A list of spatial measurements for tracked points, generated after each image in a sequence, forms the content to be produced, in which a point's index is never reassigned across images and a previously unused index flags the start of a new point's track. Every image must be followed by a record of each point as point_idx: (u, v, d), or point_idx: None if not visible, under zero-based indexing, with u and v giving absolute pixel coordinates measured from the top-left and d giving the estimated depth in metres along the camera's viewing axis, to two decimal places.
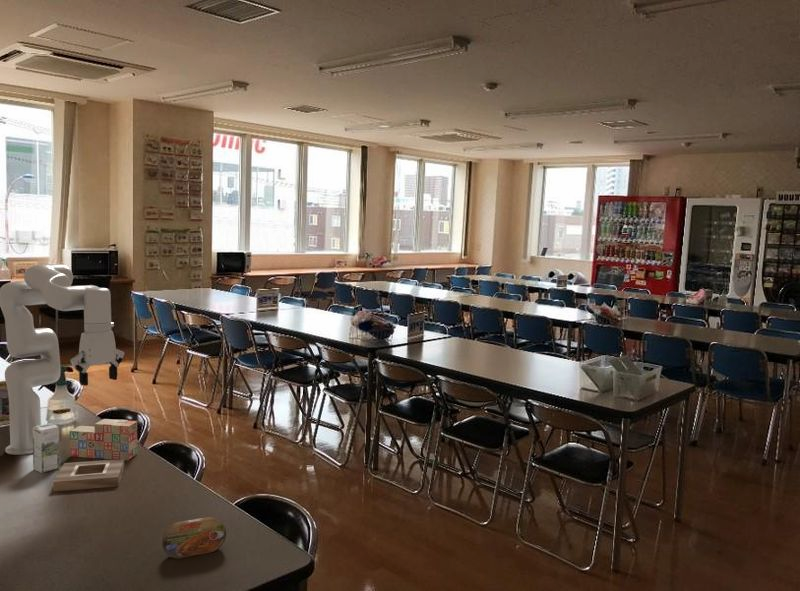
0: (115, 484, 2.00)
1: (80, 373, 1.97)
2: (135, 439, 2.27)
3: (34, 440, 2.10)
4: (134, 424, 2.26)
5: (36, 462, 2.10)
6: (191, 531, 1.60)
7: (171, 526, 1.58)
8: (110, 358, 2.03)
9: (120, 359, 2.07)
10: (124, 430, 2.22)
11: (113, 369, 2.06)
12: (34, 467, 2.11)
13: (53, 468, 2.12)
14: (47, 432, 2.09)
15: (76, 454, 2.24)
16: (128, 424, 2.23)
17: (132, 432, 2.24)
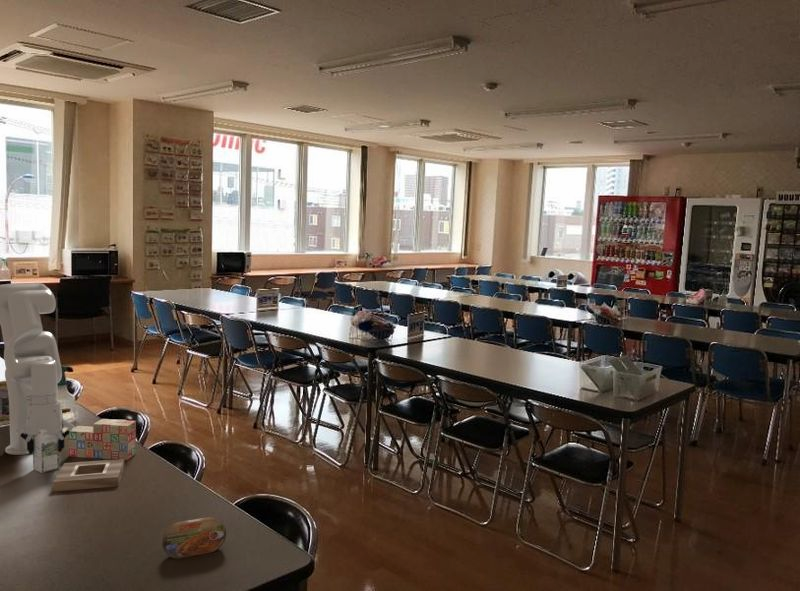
0: (115, 484, 2.00)
1: (63, 439, 2.13)
2: (134, 439, 2.27)
3: (34, 440, 2.10)
4: (133, 424, 2.26)
5: (36, 462, 2.10)
6: (191, 531, 1.60)
7: (171, 526, 1.58)
8: None
9: None
10: (122, 430, 2.22)
11: None
12: (34, 467, 2.11)
13: (53, 468, 2.12)
14: None
15: (74, 454, 2.24)
16: (127, 424, 2.23)
17: (131, 432, 2.25)
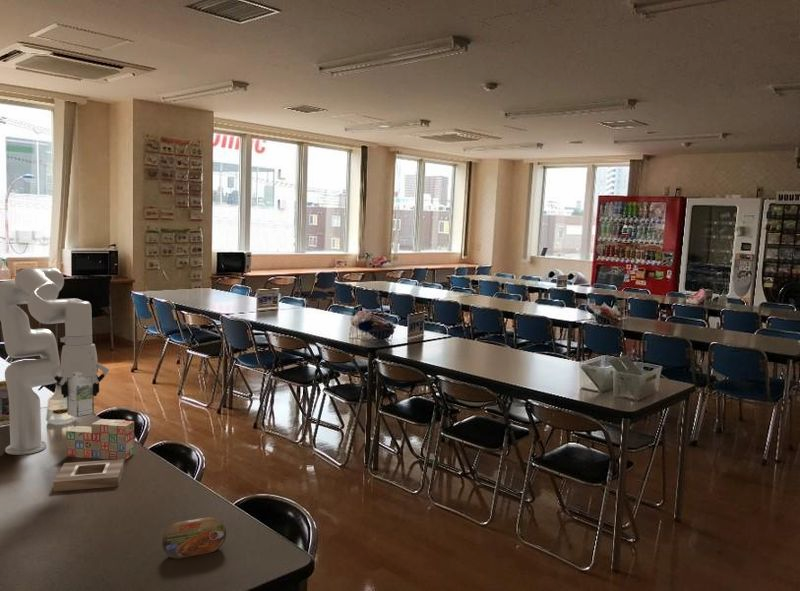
0: (115, 484, 2.00)
1: (98, 383, 2.05)
2: (132, 439, 2.27)
3: (68, 383, 2.02)
4: (131, 424, 2.25)
5: (70, 406, 2.02)
6: (191, 531, 1.60)
7: (171, 526, 1.58)
8: None
9: None
10: (121, 430, 2.22)
11: None
12: (68, 412, 2.03)
13: (88, 413, 2.03)
14: None
15: (73, 454, 2.24)
16: (125, 424, 2.23)
17: (129, 432, 2.24)
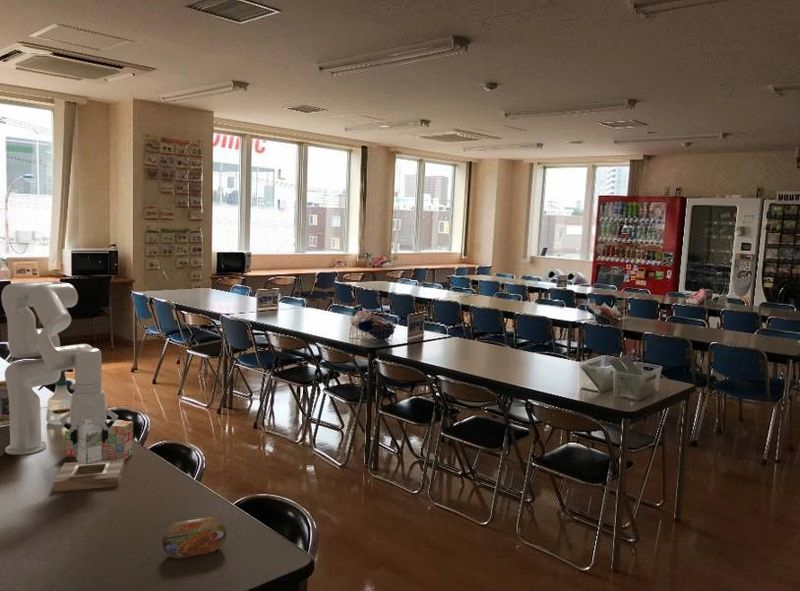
0: (115, 484, 2.00)
1: (107, 429, 2.05)
2: (131, 439, 2.26)
3: (78, 430, 2.02)
4: (130, 424, 2.25)
5: (79, 453, 2.03)
6: (191, 531, 1.60)
7: (171, 526, 1.58)
8: None
9: None
10: (119, 430, 2.21)
11: None
12: (77, 458, 2.04)
13: (97, 459, 2.04)
14: (91, 422, 2.01)
15: (72, 454, 2.24)
16: (124, 424, 2.23)
17: (128, 432, 2.24)
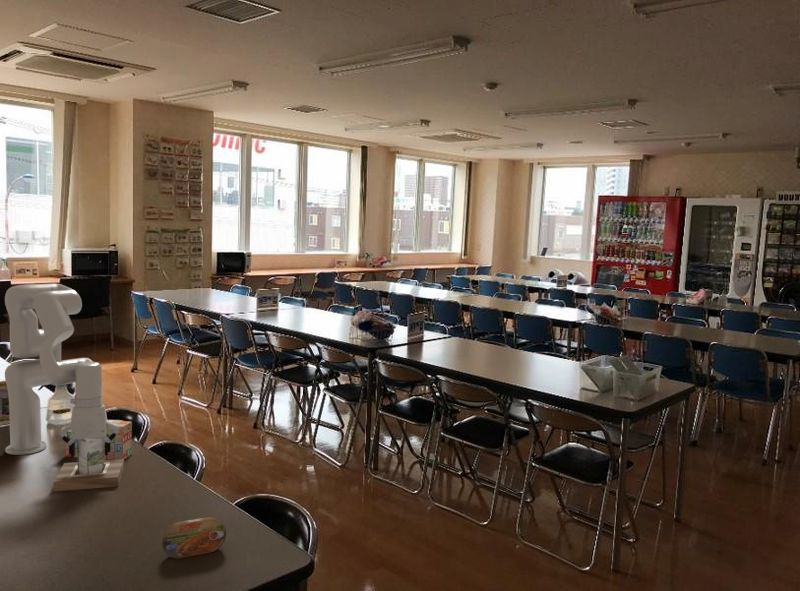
0: (115, 484, 2.00)
1: (110, 442, 2.06)
2: (130, 440, 2.26)
3: (79, 449, 2.03)
4: (128, 424, 2.25)
5: (81, 471, 2.03)
6: (191, 531, 1.60)
7: (171, 526, 1.58)
8: None
9: None
10: None
11: (74, 444, 2.04)
12: None
13: None
14: (92, 441, 2.02)
15: None
16: (122, 424, 2.23)
17: (126, 432, 2.24)
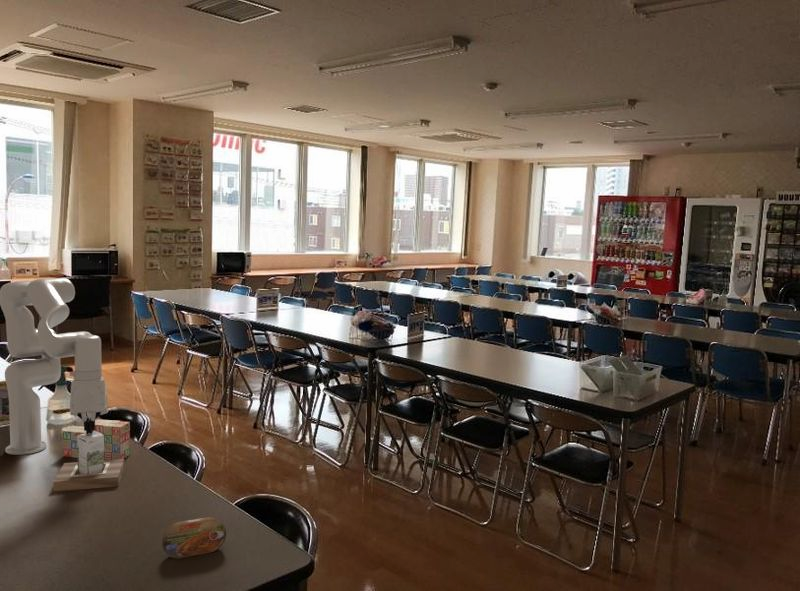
0: (115, 484, 2.00)
1: (94, 420, 2.04)
2: (127, 440, 2.26)
3: (79, 449, 2.03)
4: (126, 425, 2.24)
5: (81, 471, 2.03)
6: (191, 531, 1.60)
7: (171, 526, 1.58)
8: None
9: None
10: (115, 431, 2.21)
11: (89, 421, 2.04)
12: None
13: None
14: (92, 441, 2.02)
15: (69, 454, 2.24)
16: (120, 425, 2.22)
17: (124, 433, 2.23)
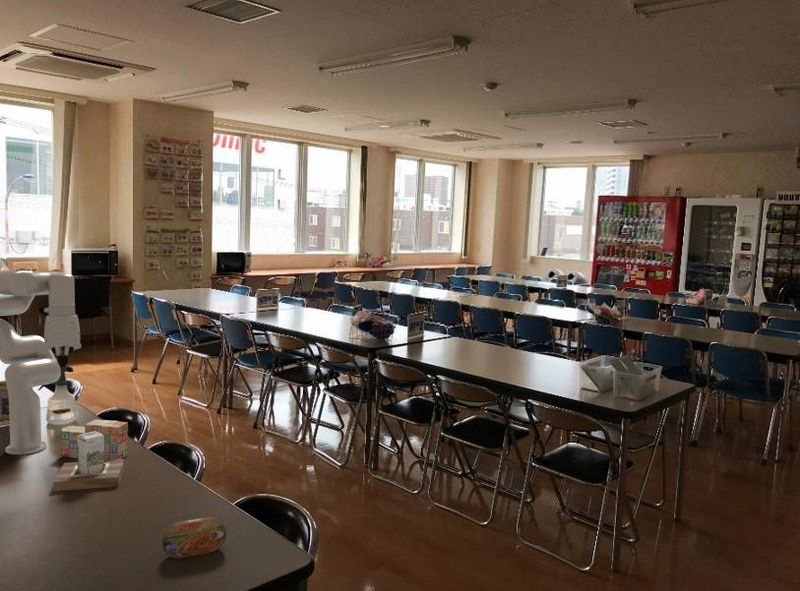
0: (115, 484, 2.00)
1: (68, 355, 2.14)
2: (125, 440, 2.25)
3: (79, 449, 2.03)
4: (124, 425, 2.24)
5: (81, 471, 2.03)
6: (191, 531, 1.60)
7: (171, 526, 1.58)
8: None
9: None
10: (113, 431, 2.20)
11: None
12: None
13: None
14: (92, 441, 2.02)
15: (67, 454, 2.24)
16: (118, 425, 2.22)
17: (122, 433, 2.23)
